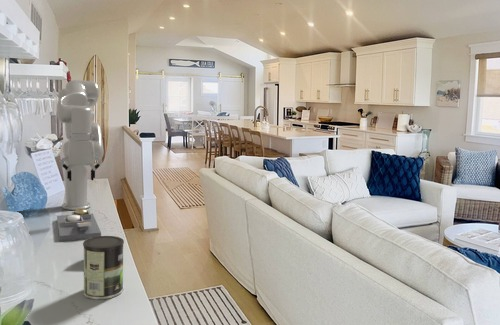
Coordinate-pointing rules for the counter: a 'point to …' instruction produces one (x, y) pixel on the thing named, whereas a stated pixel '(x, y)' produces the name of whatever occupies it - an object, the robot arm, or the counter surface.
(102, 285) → the coffee can
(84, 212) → the brass button
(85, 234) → the control panel
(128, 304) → the counter surface
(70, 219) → the white button
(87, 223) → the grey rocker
